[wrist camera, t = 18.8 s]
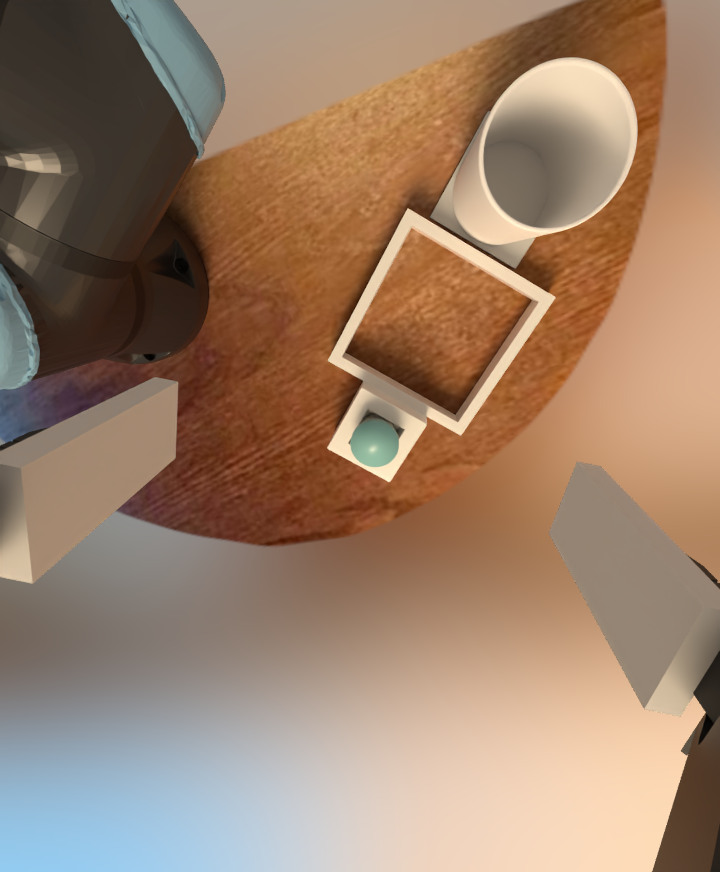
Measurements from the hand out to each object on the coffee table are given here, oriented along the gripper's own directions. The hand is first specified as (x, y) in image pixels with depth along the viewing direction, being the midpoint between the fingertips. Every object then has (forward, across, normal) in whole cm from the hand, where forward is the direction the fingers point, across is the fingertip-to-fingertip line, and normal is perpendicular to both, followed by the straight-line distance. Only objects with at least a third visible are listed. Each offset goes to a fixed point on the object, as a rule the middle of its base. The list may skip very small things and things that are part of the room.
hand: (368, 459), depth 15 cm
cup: (+32, +7, +13) cm, 35 cm away
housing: (+32, +3, -3) cm, 32 cm away
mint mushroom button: (+30, +1, -10) cm, 31 cm away
